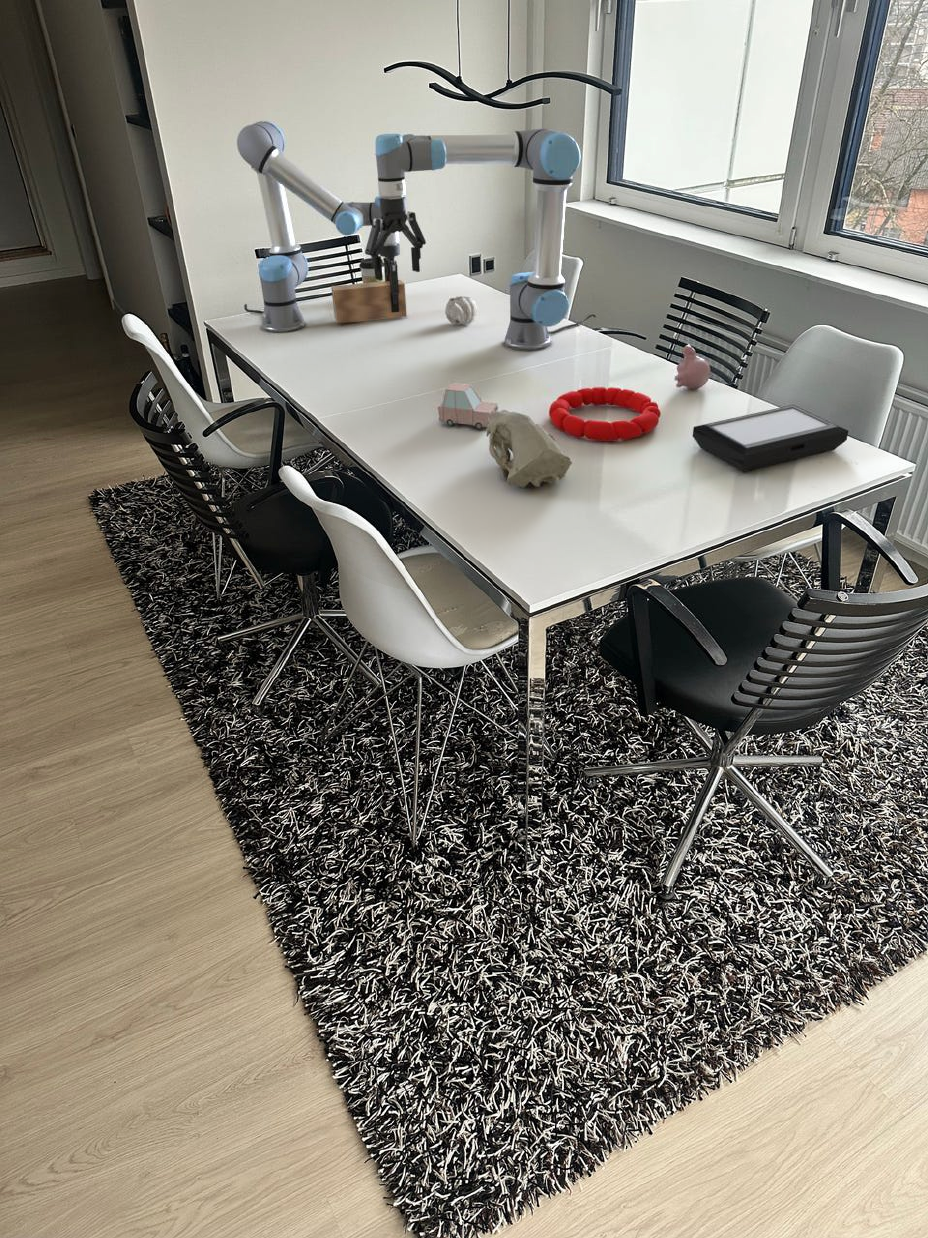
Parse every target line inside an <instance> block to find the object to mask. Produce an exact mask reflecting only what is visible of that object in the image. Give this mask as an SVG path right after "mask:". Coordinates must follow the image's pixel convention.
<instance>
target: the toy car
mask: <svg viewBox="0 0 928 1238" xmlns="http://www.w3.org/2000/svg"><path fill="white" fill-rule="evenodd" d="M498 409H499V404H498V403H497V402H490V401H489V402H487V401H483V397H481V396H480V395H479V394H478V393H477V391H476V390H475V389H474V386H472V384H469V383H459V382H451V383H450V384H449V385H448V386H447V387H446V388H445V389H444V394H443V399H442V403H440V404H439V405H438V406H437V413H438V421H439V422H443V423H446V425H447V426H448V427H452V426H454V425H455V424H461V425H469V426H473V427H475V429H476V430H479V431H480V430H481V429H483V428H485V427H486V428H487V423H488V422H490V414H491V413H492V412H496V411H499V410H498Z"/></svg>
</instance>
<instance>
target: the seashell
mask: <svg viewBox="0 0 928 1238" xmlns="http://www.w3.org/2000/svg"><path fill="white" fill-rule="evenodd" d="M444 313H445V316H446V319H447V320H448V321H449V323H450V324H452V325H455V326H458V325H460V324H461V325H468V324H471V323H472V321H473V320H474V319H475V318H476V316H477V314H478V306H477V303H476V301H475V300H474V299H472V298H471V297H470V296H462V295H460V296H458V295H457V296H455V297H451V298H449V299H448V302H447V303H446V305H445V309H444Z"/></svg>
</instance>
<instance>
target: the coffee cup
mask: <svg viewBox="0 0 928 1238" xmlns="http://www.w3.org/2000/svg"><path fill="white" fill-rule="evenodd" d="M381 263H382V276H383V280H381V281H380V280H377V279H375V269H374V268H373V267H372V257H370V258H363V259H361V260H360V263H359V265H358V267H359V268H360V272H361V273H360V275H361V279H362V280H361V281H362V283H372V282H383V281H385V272H384V260H383V258H381Z"/></svg>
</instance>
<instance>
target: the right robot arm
mask: <svg viewBox="0 0 928 1238" xmlns="http://www.w3.org/2000/svg"><path fill="white" fill-rule="evenodd" d="M374 155H375V160H376V170H377V189H378V196H381V198H380V199H379V202H380V211H381V214H382V216H381V219H377V218H373V219H372V226H371V229H370V232H369V235H368V240H367V241H366V242H367V243H366V246H365V250H364V254H365V255H367V256H370V258H372V267H373V268H374V269H375V279H377V280H380V281H381V280H383V276H382V263H381V259H382V256H380V255H379V253H380V251H381V249H382V247H383V245H384V244H385V242H386V240H387V238H388V236H389V235H390V234H391V233H395V232H399V233H401V232H402V234H403V235H404V236H405V238H406V239H407V240H408V242H410V244H411V245H412V246H413V247H410V254H411V255H410V256H411V270H412V272H416V273H420V272H421V268H420V267H421V266H420V260H421V258H422V256H421V255H422V254H421V253H422V252H421V249H423V247H424V245H426V243H427V241H426V239H425V237H424V234H423V232H422V230H421V228H420V225H419V223H418V220H417V216H416V213H415V212H414V211H410V210H409V211H407V197H405V195H406V177H405V176H406V175H405V174H406V173H411V172H423V171H424V172H425V171H426V172H427V171H432V172H433V171H436V170H443V168H445V166H446V165H497V164H499V165H500V164H502V165H503V164H504V165H505V164H506V165H508V166H509V167H510V168H521V169H527V170H531V171H532V184H533V185H534V186H535V188H536V190H537V191H536V193H537V194H536V206H535V207H536V208H535V228H534V245H533V247H534V248H533V265H532V271H525V272H518V273H513V274H512V275H511V276H510V280H509V281H510V282H509V315H510V316H509V323H508V327H507V330H506V334H505V335H504V337H505V338H504V345H505V347H506V348H509V349H511V350H515V351H538V350H543V349H546V348H547V347H549V346H550V344H551V337H550V334H551V335H552V334H555V333H558V332H561V331H562V330H566V329H568V328H572V327H577V326H579V325H581V324H583V323H584V322H585V321H587V320H588V319H590V318H591V317H593V318H597V315H596V314H595V313H591V314H589V315H587V316H586V317H584V318H582V319H581V320H580V321H579V322H576V323H572V324H568V325H564V326H562V327H559V328H557V329H554V330H548V328H549V327H553V326H556V325H558V324H559V323H561V322H563V320H564V319H565V317H566V316H567V315H568V312H569V307H570V303H569V298H568V296H567V294H565V284H566V280H565V278H564V277H563V276H562V274H561V272H562V271H561V270H562V258H563V243H564V241H563V240H564V228H565V214H566V201H567V191H568V189H569V188H570V187H571V186H572V185H573V178H574V177H573V176H574V174H575V173H576V171H577V170H578V169H579V166H580V163H581V150H580V147H579V145H578V142H577V141H576V140H575V138H573V137H572V136H571V135H569V134H567V133H565V132H563V131H558V130H553V129H549V128H535V129H526V130H525V129H524V130H512V131H510V132H509V133H508V134H453V135H452V134H450V135H449V134H441V135H440V134H439V135H438V134H436V135H435V134H434V135H433V134H430V135H425V134H424V135H414V134H411V133H408V134H407V133H406V134H403V135H402V134H400V133H381V134H379V135H376V137H375V154H374ZM406 211H407V212H406ZM407 222H408V225H407ZM382 225H383V226H382ZM380 226H382V228H381V230H380ZM410 228H411V230H412V231H411V230H410ZM379 231H380V234H379ZM378 235H379V236H378Z"/></svg>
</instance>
